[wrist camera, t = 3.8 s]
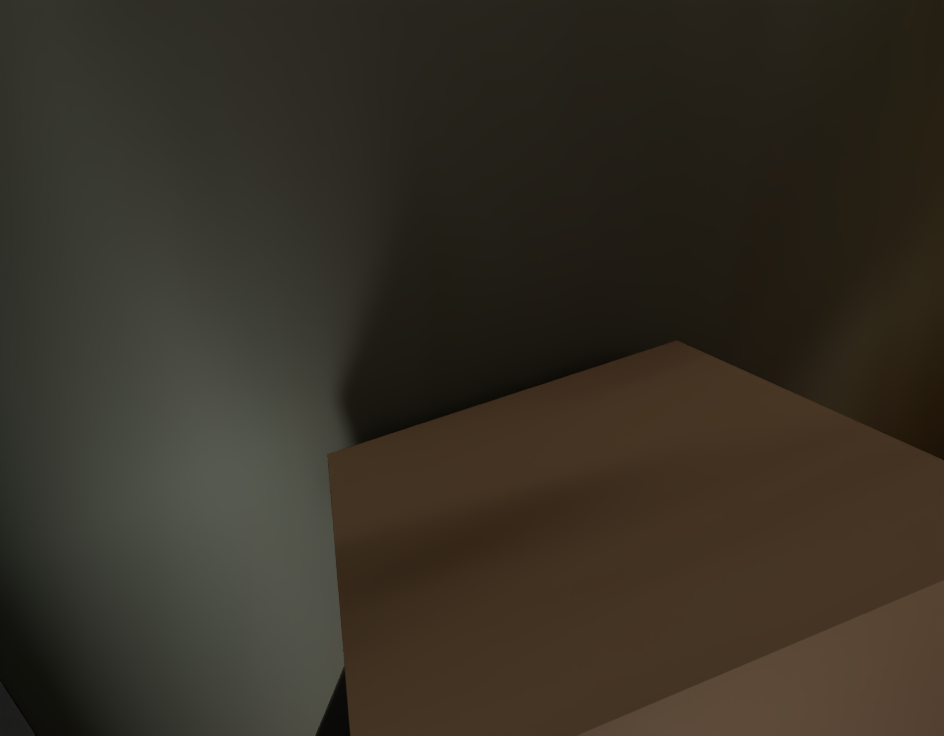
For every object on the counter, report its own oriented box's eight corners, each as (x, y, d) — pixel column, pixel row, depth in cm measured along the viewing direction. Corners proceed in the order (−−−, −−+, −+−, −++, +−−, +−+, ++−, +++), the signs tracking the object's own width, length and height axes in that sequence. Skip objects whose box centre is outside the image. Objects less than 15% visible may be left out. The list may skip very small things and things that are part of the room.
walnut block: (713, 618, 11) (1031, 964, 6) (427, 735, 10) (537, 1236, 5) (676, 340, 9) (1080, 521, 4) (327, 454, 8) (358, 828, 3)
